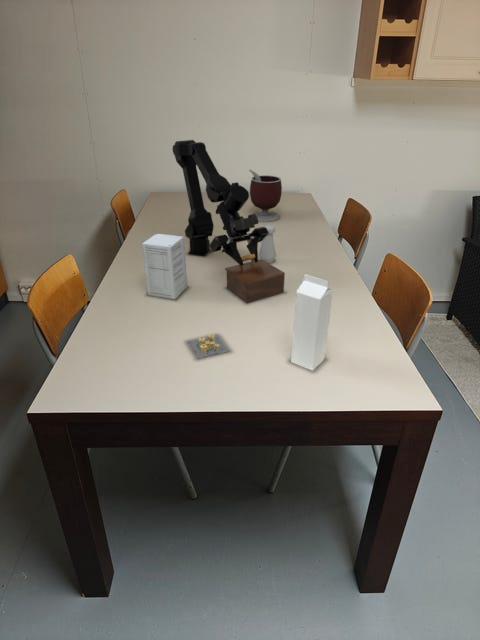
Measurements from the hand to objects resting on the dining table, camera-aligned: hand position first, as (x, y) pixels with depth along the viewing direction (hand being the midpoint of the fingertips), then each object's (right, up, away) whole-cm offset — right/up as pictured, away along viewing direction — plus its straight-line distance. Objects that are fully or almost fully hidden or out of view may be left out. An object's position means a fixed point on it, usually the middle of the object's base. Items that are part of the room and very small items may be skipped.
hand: (249, 263), depth 141 cm
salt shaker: (+7, +3, +22) cm, 23 cm away
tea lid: (+1, -3, -1) cm, 3 cm away
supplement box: (-25, -9, +1) cm, 27 cm away
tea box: (+2, -8, +2) cm, 8 cm away
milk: (+13, -27, -31) cm, 43 cm away
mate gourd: (+8, +29, +66) cm, 73 cm away
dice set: (-11, -24, -26) cm, 37 cm away
